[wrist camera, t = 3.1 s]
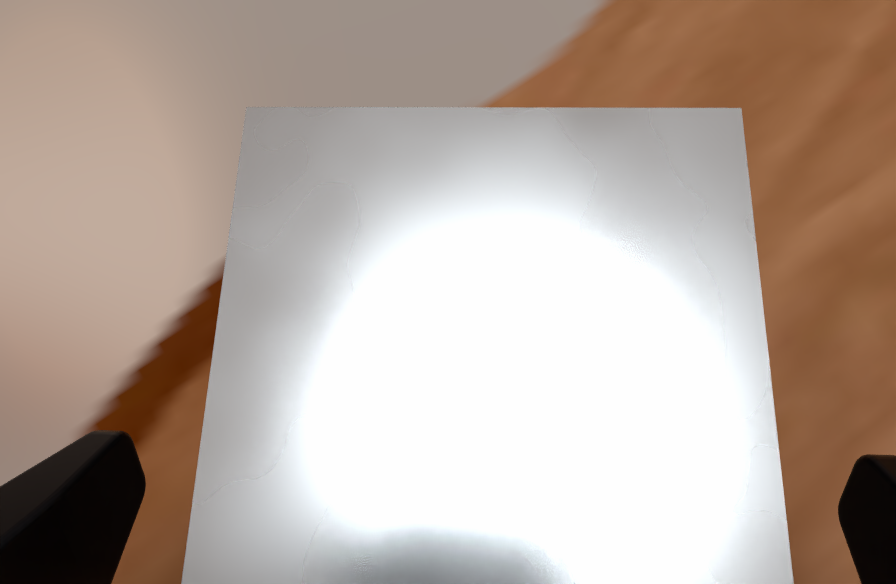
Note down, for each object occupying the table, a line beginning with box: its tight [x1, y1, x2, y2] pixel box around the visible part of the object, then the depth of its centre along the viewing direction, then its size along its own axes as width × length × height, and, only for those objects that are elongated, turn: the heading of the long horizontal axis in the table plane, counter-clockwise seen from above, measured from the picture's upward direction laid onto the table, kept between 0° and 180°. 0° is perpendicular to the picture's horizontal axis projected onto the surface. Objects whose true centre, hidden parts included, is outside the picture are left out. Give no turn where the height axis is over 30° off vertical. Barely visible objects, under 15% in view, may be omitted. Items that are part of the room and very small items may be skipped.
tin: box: [181, 107, 794, 584], centre depth 12 cm, size 6×6×10 cm
